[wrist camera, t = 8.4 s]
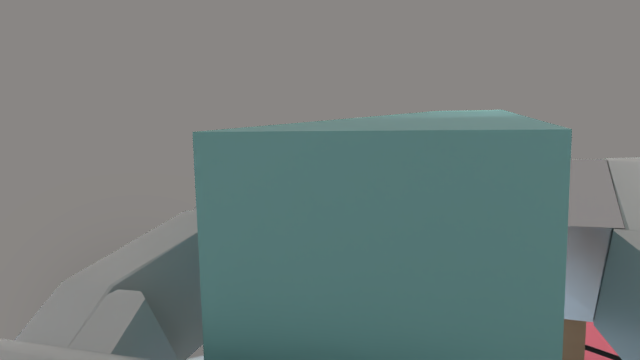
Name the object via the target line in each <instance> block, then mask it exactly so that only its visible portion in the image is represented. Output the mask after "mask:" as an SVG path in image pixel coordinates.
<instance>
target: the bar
mask: <svg viewBox="0 0 640 360" xmlns="http://www.w3.org/2000/svg"><path fill="white" fill-rule="evenodd" d="M571 136H572V129H569V128H565V127H562V126H558V125H555V124H551V123H547V122H544V121H540V120H537V119H533V118H530V117H526V116H522V115H519V114H515V113H512V112H508V111H505V110H473V111H472V110H468V111H432V112H421V113H409V114H396V115H385V116H373V117H362V118H351V119H338V120H327V121H315V122H304V123H292V124H280V125H268V126H257V127H245V128H234V129H222V130H212V131H211V130H210V131H199V132H193V148H194V168H195V188H196V209H197V229H198V249H199V269H200V289H201V308H202V328H203V347H204V360H562V354H563V330H564V306H565V282H566V258H567V234H568V210H569V186H570V162H571V138H572V137H571Z"/></svg>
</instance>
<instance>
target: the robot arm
mask: <svg viewBox="0 0 640 360" xmlns="http://www.w3.org/2000/svg"><path fill="white" fill-rule="evenodd" d="M564 319H569V320H577V321H586V322H594V324H593V325H594V326H595V328H596V329H597V330H598V331H599V332H600V334H601V335H602V336H603V337H604V338H605V340H606V341H607V342H608V343H609V345H610V346H611V347H612V348H613V349H614V351H615V352H616V353H617V354H618V355H619V357H620V358H621V359H622V360H640V158H605V159H571V162H570V186H569V210H568V234H567V258H566V282H565V306H564ZM201 345H203V328H202V308H201V289H200V269H199V249H198V229H197V209H196V206H195V208H194V209H193V211H183V212H182V213H180V214H178V215H177V216H175V217H173V218H171V219H170V220H168V221H166V222H164V223H163V224H161V225H159V226H158V227H156V228H154V229H152V230H150V231H149V232H147V233H145V234H144V235H142V236H140V237H139V238H137V239H135V240H133V241H132V242H130V243H128V244H126V245H125V246H123V247H121V248H119V249H118V250H116V251H114V252H112V253H111V254H109V255H107V256H105V257H104V258H102V259H100V260H99V261H97V262H95V263H93V264H92V265H90V266H88V267H86V268H85V269H83V270H81V271H80V272H78V273H76V274H75V275H73V276H71V277H69V278H68V279H66V280H64V281H62V283H61V284H60V285H59V286H58V288H57V289H56V290H55V291H54V292H53V293H52V295H51V296H50V297H49V298H48V299H47V301H46V302H45V303H44V304H43V306H42V307H41V308H40V309H39V311H38V312H37V313H36V314H35V315H34V317H33V318H32V319H31V320H30V322H29V323H28V324H27V325H26V326H25V328H24V329H23V330H22V331H21V332H20V334H19V335H18V336H17V337H16V339H15V340H8V339H1V338H0V360H186V359H187V358H188V357H189V356H190V355H191V354H193V353H194V352H195V351H196V350H197V349H198V348H199V347H200V346H201Z"/></svg>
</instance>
